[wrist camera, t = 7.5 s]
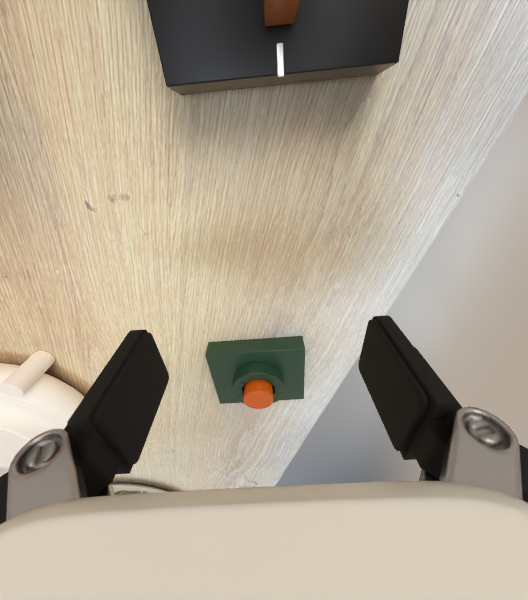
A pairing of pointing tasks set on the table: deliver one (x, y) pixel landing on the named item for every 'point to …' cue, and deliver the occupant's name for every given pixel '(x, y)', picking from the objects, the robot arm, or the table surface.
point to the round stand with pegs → (31, 403)
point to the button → (258, 394)
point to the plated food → (134, 489)
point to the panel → (273, 42)
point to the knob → (280, 12)
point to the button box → (257, 367)
